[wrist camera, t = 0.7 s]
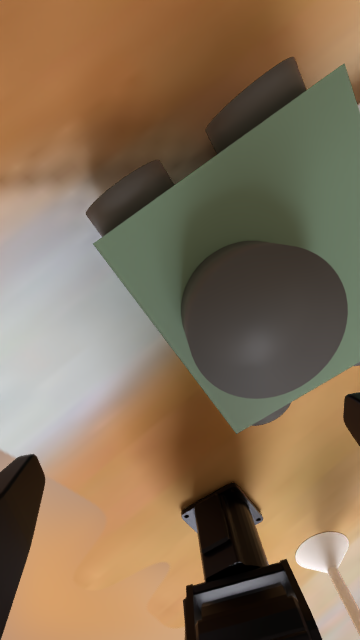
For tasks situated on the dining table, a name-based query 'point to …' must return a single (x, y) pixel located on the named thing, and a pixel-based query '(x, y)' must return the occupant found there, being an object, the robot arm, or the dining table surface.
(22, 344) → the dining table surface
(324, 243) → the green wheeled block
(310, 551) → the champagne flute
